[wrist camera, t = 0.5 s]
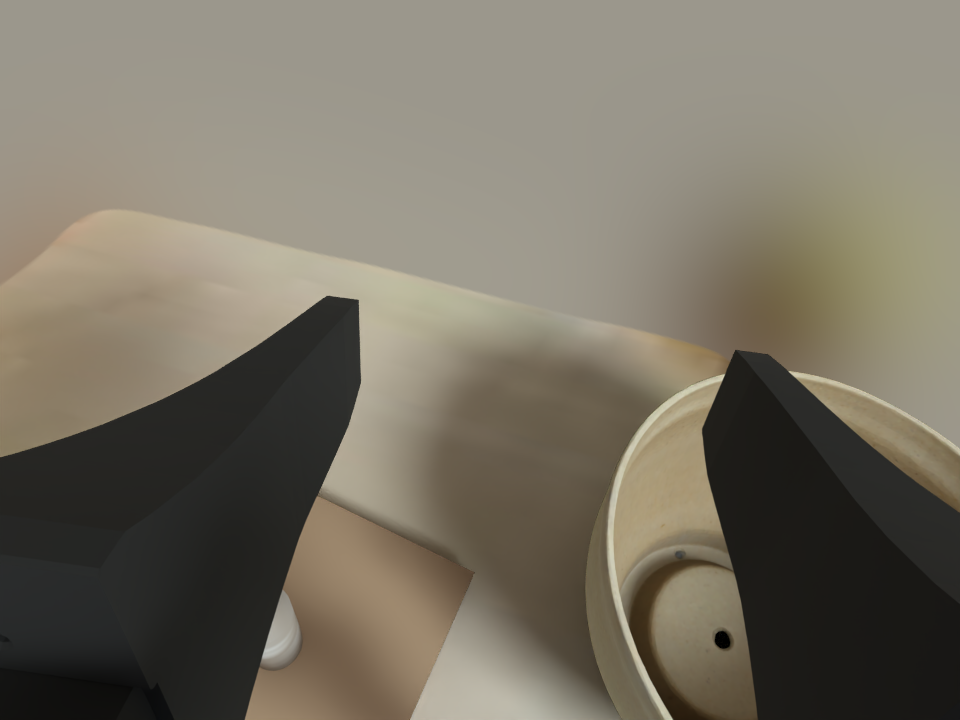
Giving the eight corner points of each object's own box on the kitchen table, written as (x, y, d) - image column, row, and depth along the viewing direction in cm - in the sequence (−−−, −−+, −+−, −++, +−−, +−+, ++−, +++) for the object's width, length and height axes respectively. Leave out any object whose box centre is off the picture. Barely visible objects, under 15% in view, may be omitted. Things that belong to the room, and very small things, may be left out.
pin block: (330, 900, 22) (319, 925, 17) (46, 735, 23) (-39, 715, 18) (470, 582, 29) (490, 536, 24) (245, 472, 30) (222, 407, 25)
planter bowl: (457, 636, 27) (500, 553, 18) (667, 431, 35) (766, 306, 26) (768, 1004, 22) (1038, 1134, 13) (934, 662, 30) (1171, 600, 21)
